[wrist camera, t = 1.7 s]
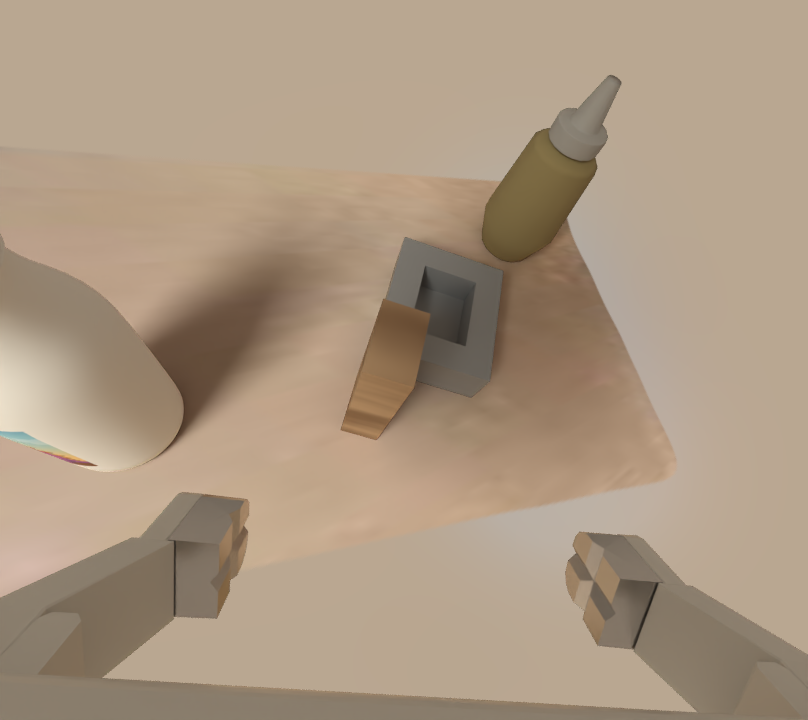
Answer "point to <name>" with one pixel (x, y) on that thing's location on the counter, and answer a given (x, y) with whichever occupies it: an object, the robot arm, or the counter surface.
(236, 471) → the counter surface
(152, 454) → the milk bottle
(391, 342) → the wooden block
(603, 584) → the robot arm
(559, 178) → the squeeze bottle
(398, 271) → the grey hollow block
